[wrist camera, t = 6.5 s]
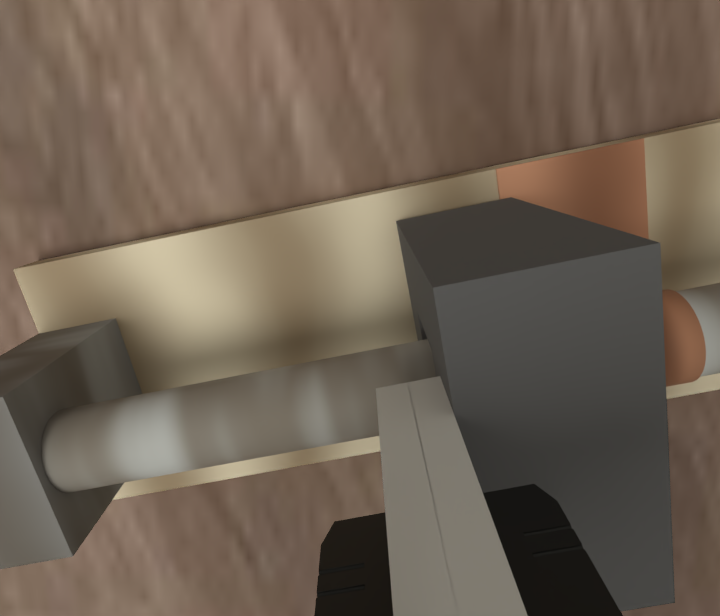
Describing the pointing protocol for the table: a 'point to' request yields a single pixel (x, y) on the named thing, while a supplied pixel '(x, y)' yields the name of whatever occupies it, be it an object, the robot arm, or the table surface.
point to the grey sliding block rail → (295, 331)
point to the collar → (556, 371)
